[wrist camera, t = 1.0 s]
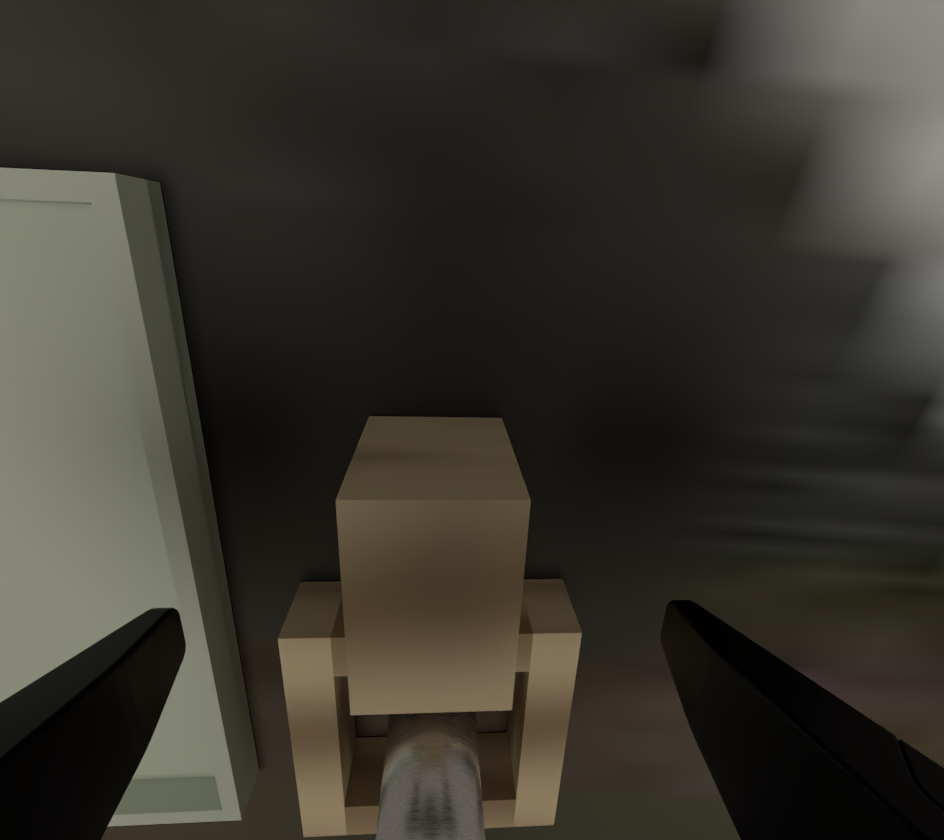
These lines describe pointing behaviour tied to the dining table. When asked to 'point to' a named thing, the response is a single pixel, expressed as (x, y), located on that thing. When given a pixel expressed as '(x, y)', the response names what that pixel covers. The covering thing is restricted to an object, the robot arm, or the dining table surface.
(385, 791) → the cylinder
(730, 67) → the dining table surface
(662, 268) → the dining table surface
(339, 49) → the dining table surface
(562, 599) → the wooden block frame
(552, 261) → the dining table surface
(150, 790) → the tray
